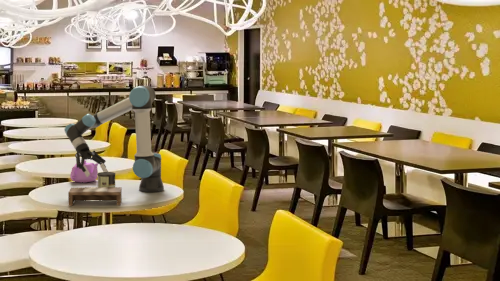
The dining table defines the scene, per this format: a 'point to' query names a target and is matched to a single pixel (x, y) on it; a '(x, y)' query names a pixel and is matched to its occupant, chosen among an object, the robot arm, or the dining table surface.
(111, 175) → the coffee can
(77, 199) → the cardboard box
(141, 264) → the dining table surface
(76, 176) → the teapot
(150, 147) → the robot arm
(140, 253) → the dining table surface
